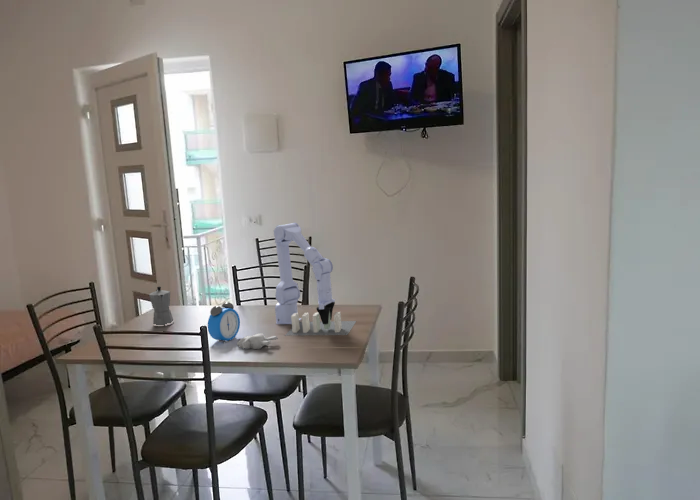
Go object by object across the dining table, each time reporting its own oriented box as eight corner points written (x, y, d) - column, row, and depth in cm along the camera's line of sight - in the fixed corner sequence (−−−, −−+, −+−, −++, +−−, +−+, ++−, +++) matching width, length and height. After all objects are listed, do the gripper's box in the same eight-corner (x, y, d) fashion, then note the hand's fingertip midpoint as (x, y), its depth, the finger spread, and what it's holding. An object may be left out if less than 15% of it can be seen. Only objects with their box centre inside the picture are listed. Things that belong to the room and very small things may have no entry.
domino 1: (292, 332, 225) (291, 316, 224) (296, 328, 230) (294, 312, 229) (296, 332, 225) (294, 316, 224) (299, 328, 230) (298, 312, 228)
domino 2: (303, 332, 224) (301, 316, 223) (306, 328, 229) (305, 312, 228) (306, 332, 224) (305, 315, 223) (310, 328, 229) (308, 312, 228)
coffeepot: (176, 325, 250) (171, 287, 248) (154, 329, 246) (149, 290, 244) (171, 318, 264) (166, 281, 261) (150, 322, 260) (145, 285, 257)
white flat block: (335, 332, 221) (333, 315, 220) (337, 328, 226) (336, 312, 225) (339, 332, 221) (337, 315, 220) (341, 328, 226) (340, 312, 225)
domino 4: (324, 329, 222) (322, 312, 221) (327, 325, 227) (325, 308, 226) (328, 328, 222) (326, 312, 221) (330, 325, 227) (329, 308, 225)
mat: (284, 336, 222) (284, 335, 222) (298, 322, 241) (298, 321, 240) (347, 335, 217) (347, 334, 217) (356, 321, 235) (356, 321, 235)
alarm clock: (220, 345, 216) (216, 308, 214) (208, 344, 219) (204, 307, 217) (242, 335, 227) (238, 300, 225) (230, 334, 230) (226, 299, 228)
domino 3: (313, 332, 223) (312, 315, 222) (316, 328, 228) (315, 312, 227) (317, 332, 223) (316, 315, 222) (320, 328, 228) (319, 312, 227)
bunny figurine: (245, 333, 217) (278, 330, 212) (248, 345, 218) (280, 342, 212) (232, 340, 209) (266, 337, 203) (235, 353, 209) (268, 351, 204)
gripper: (329, 293, 214) (332, 327, 216) (338, 285, 228) (340, 316, 230) (312, 294, 216) (315, 327, 218) (321, 285, 230) (324, 317, 232)
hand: (327, 321), depth 224 cm, fingers closed on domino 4, 5 cm apart
